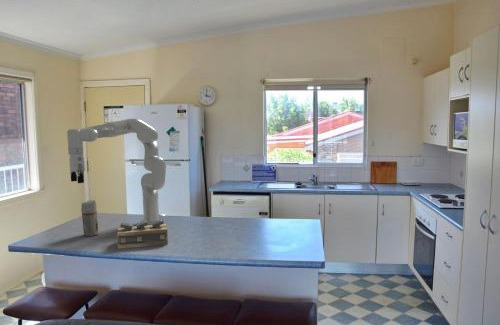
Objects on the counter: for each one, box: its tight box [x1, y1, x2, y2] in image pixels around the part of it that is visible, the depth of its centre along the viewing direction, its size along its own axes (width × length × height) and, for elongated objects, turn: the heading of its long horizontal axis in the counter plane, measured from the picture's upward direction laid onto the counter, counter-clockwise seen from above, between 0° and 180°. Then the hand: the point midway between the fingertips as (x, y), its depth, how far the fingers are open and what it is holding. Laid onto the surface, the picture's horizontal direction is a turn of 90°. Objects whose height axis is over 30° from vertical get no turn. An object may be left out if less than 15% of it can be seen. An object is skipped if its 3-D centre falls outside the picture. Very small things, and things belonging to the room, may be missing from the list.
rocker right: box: [151, 218, 165, 227], centre depth 213 cm, size 4×6×2 cm
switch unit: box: [116, 222, 169, 250], centre depth 211 cm, size 12×25×11 cm, turn 106°
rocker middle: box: [135, 221, 149, 229], centre depth 211 cm, size 4×6×2 cm
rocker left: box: [119, 222, 134, 229], centre depth 209 cm, size 4×6×2 cm
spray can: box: [80, 199, 99, 237], centre depth 228 cm, size 8×8×20 cm
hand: (77, 182), depth 221 cm, fingers open, 9 cm apart
